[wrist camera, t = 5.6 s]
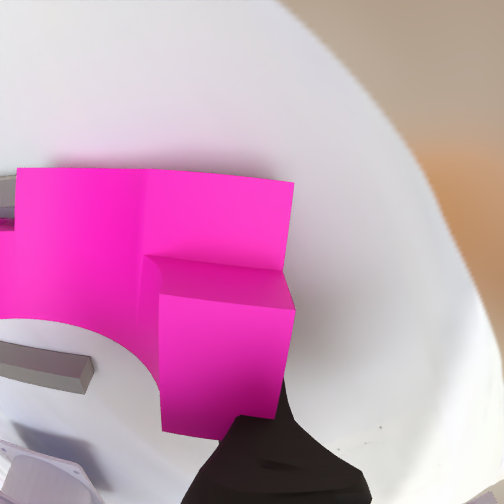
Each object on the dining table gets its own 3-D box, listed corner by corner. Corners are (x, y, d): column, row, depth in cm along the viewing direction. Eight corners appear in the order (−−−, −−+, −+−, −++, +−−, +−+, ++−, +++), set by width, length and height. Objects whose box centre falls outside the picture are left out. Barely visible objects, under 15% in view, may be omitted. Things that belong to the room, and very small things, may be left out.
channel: (201, 380, 17) (201, 405, 15) (-31, 346, 14) (-44, 361, 13) (203, 169, 13) (201, 173, 11) (-66, 186, 11) (-87, 192, 9)
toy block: (280, 185, 13) (314, 178, 6) (262, 325, 14) (268, 444, 7) (2, 170, 13) (-102, 174, 5) (3, 279, 14) (-89, 323, 7)
